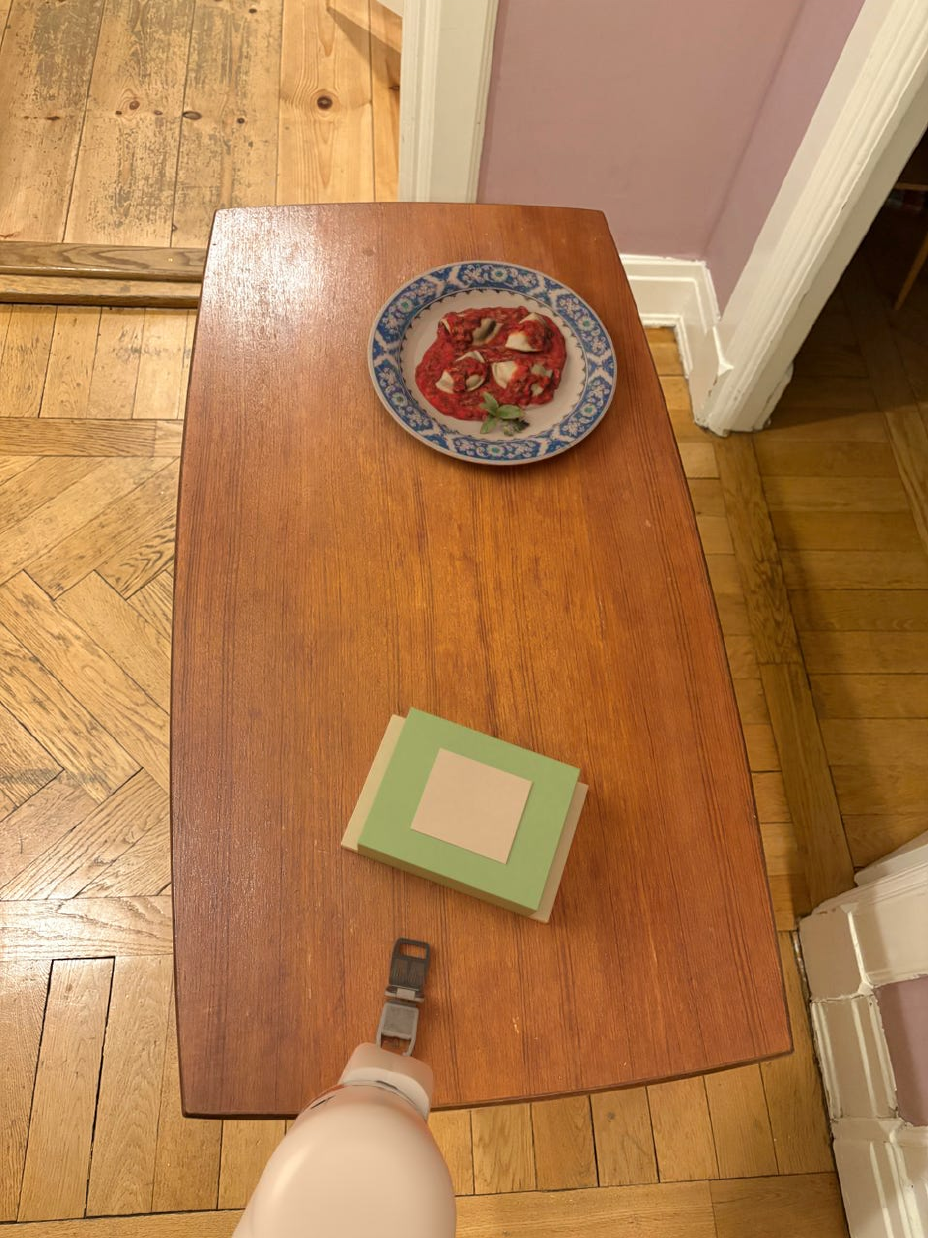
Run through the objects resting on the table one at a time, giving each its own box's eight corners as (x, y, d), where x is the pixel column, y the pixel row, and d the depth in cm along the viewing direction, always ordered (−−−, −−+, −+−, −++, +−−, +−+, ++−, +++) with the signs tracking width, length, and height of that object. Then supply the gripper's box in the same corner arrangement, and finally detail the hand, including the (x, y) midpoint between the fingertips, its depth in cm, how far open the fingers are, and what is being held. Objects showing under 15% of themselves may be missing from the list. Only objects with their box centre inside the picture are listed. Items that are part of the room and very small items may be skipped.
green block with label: (545, 924, 78) (556, 918, 73) (340, 847, 78) (338, 836, 74) (586, 788, 82) (598, 774, 78) (392, 717, 83) (394, 699, 79)
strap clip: (411, 1059, 73) (414, 1061, 69) (373, 1052, 73) (373, 1053, 69) (432, 944, 76) (436, 939, 72) (395, 936, 76) (397, 932, 72)
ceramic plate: (392, 254, 104) (393, 233, 101) (622, 299, 105) (629, 279, 102) (344, 449, 94) (343, 431, 91) (599, 497, 94) (606, 481, 91)
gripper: (374, 1389, 41) (373, 1278, 58) (485, 1035, 47) (455, 1028, 64) (214, 1325, 42) (259, 1233, 58) (344, 981, 47) (351, 988, 64)
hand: (361, 1126), depth 61 cm, fingers closed
